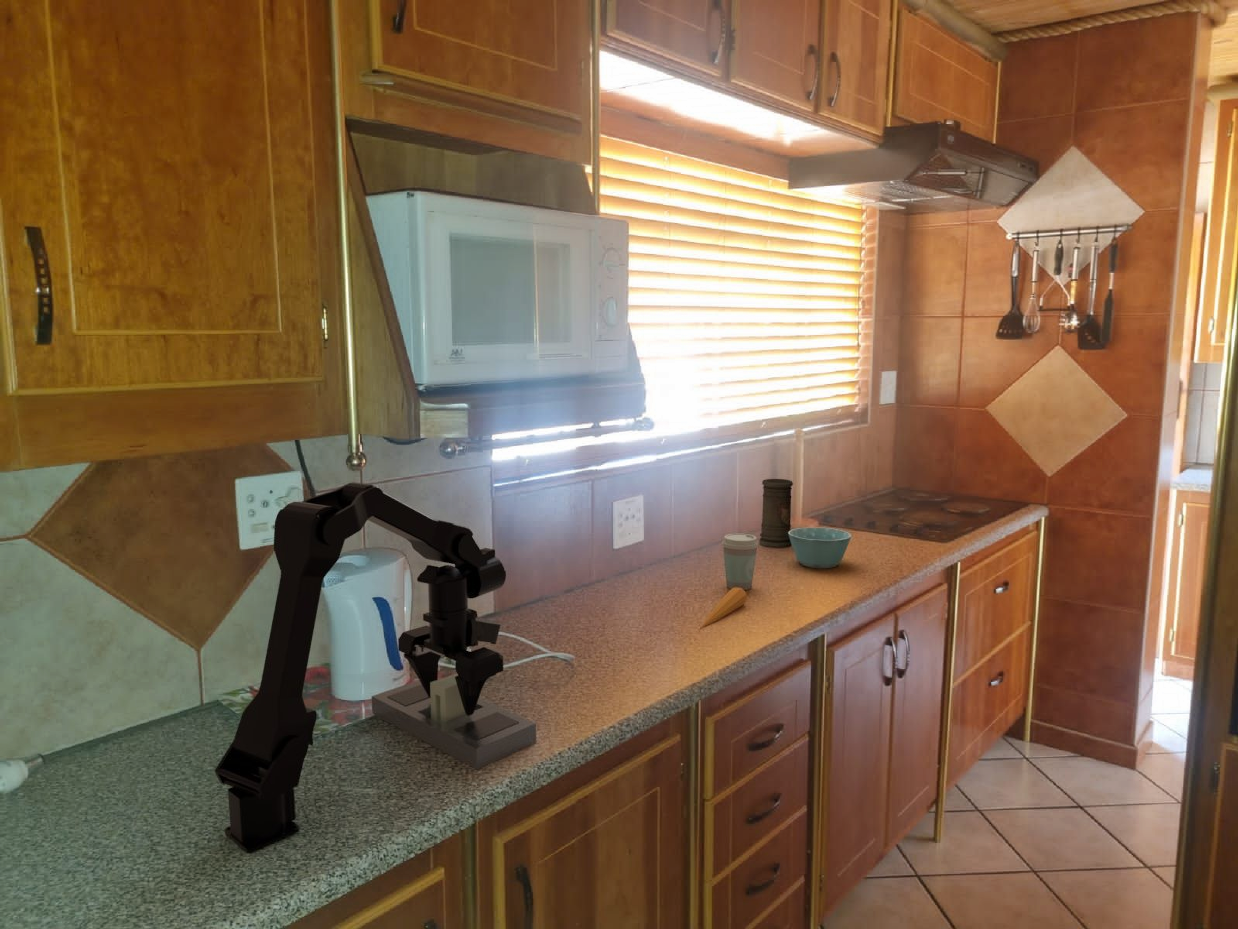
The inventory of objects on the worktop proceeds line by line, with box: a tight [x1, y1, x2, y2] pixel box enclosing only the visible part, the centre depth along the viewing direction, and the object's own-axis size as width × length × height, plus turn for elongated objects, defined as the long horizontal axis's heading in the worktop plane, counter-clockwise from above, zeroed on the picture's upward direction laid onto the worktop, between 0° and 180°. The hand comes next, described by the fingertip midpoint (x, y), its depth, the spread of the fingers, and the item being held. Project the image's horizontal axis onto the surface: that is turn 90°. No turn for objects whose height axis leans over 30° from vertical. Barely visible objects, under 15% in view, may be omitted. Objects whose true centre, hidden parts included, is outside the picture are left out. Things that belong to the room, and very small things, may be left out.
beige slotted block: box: [430, 673, 466, 724], centre depth 136 cm, size 5×4×8 cm
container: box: [758, 478, 794, 548], centre depth 252 cm, size 9×9×18 cm
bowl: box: [788, 526, 852, 569], centre depth 232 cm, size 16×16×8 cm
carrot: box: [700, 587, 747, 629], centre depth 191 cm, size 20×4×4 cm, turn 149°
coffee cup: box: [721, 533, 759, 591], centre depth 211 cm, size 8×8×12 cm
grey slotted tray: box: [371, 679, 537, 770], centre depth 137 cm, size 11×26×3 cm, turn 48°
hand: (450, 706), depth 136 cm, fingers open, 9 cm apart
